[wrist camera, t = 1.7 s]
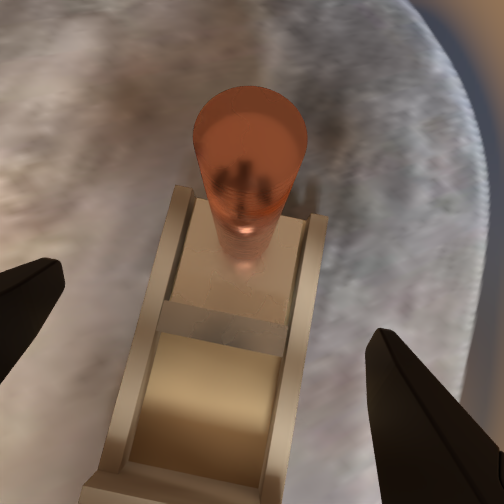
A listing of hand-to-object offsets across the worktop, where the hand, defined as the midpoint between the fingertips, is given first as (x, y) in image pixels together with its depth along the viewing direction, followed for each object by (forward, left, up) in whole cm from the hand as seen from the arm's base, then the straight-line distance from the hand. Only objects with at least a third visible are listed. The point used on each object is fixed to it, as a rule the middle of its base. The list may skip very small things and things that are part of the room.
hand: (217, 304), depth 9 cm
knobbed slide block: (+2, -1, -10) cm, 10 cm away
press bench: (-2, +1, -11) cm, 12 cm away
